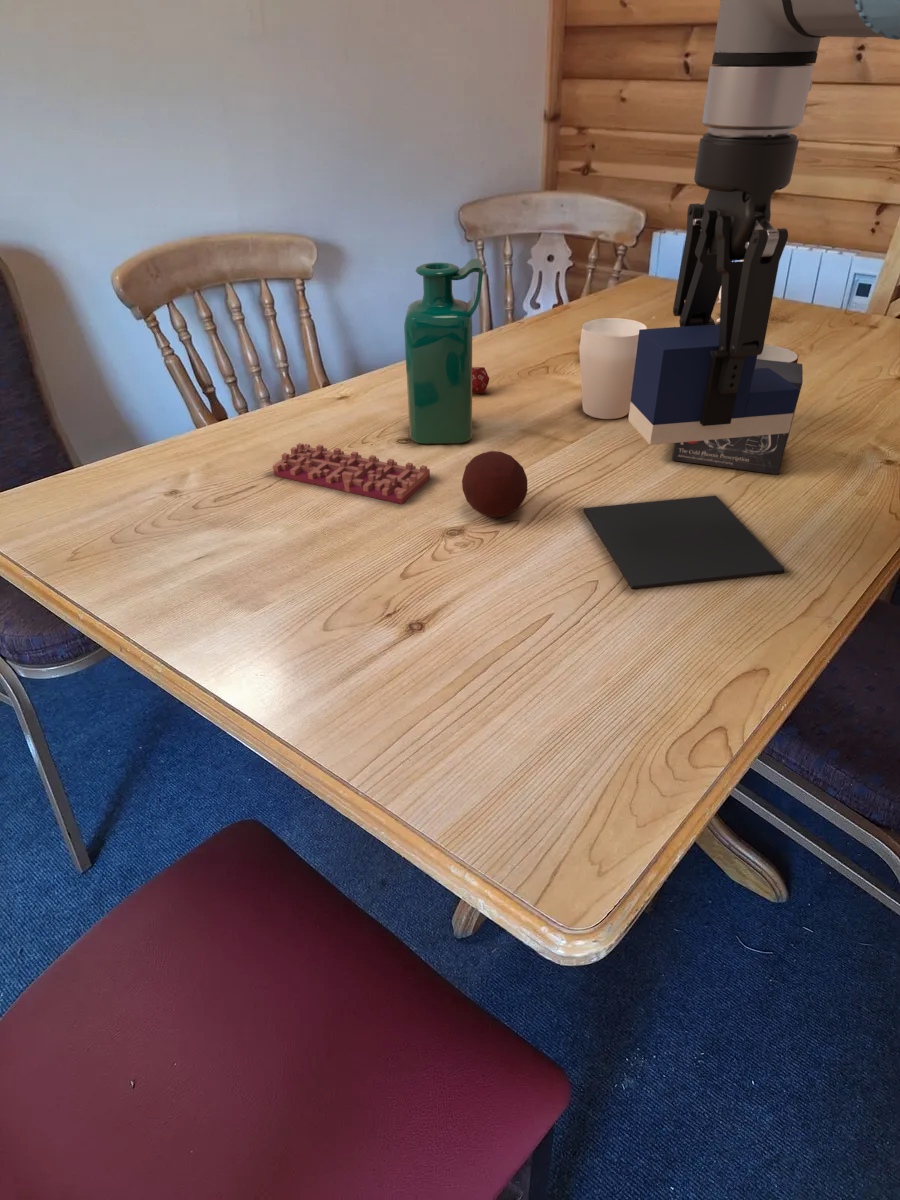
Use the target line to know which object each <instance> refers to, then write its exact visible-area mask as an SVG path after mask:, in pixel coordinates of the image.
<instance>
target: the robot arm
mask: <svg viewBox="0 0 900 1200" xmlns="http://www.w3.org/2000/svg"><path fill="white" fill-rule="evenodd" d="M719 2H720V3H719V9H718V15H717V24H716V31H715V35H714V36H715V37H714V44H713V50H712V51H713V55H712V60H711V65H709V71H708V79H707V85H706V92H705V98H704V106H703V112H702V120H701V123H702V125H703V126H704V127H707V128H708V129H707V133H704V134H703V135H702V137H701V138H699V144H698V149H697V151H698V152H697V157H696V164H695V170H694V177H693V179H694V183H695V185H696V186H698V187H699V188H701V189H703V190H708V192H707V194H706V198H705V200H704V202H703V203H701V202H699V203H689V205H688V206H687V211H686V212H687V213H686V234H685V240H684V245H683V250H682V256H681V262H680V268H679V273H678V279H677V285H676V290H675V296H674V302H673V307H672V314H673V316H674V317H679V327H685V326H699V325H714V324H716V323H717V322H715V320H714V319H713V317H712V315H713V311H714V308H715V305H716V303H717V301H718V298H719V291H720V288H721V304H720V308H719V309H720V310H719V318H720V323H719V324H720V330H719V350H718V351H711V357H712V358H711V364H710V369H709V375H708V380H707V386H706V391H705V397H704V402H703V407H702V413H701V418H700V424H701V425H702V426H710V425H722V424H731V419H732V414H733V409H734V405H735V400H736V395H737V390H738V387H739V381H740V377H741V372H742V368H743V363H744V360H745V358H746V357H747V356H752V355H760V354H761V353H762V351H763V347H764V345H765V341H766V336H767V331H768V325H769V319H770V314H771V308H772V303H773V298H774V292H775V288H776V281H777V276H778V270H779V266H780V265H779V264H780V261H781V258H782V255H783V253H784V250H785V248H786V244H787V242H788V239H789V231H788V229H787V228H786V227H784V228H774V226H773V225H772V223H770V222H771V216H772V214H771V203H772V196H773V194H774V193H775V192H776V191H780V190H783V189H785V188H786V187H787V186H789V184H790V183H791V180H792V175H793V170H794V166H795V162H796V156H797V152H798V148H799V147H798V146H799V144H800V140H799V139H798V136H797V134H794V133H792V131H793V129H795V128H797V127H800V125H802V124H803V121H804V116H805V110H806V106H807V101H808V96H809V93H810V91H812V88H813V81H812V77H813V71H814V66H815V65H814V64H816V63H817V59H818V58H817V57H818V52H819V47H820V43H821V39H825V38H827V37H833V38H834V37H836V38H885V39H888V40H894V41H899V40H900V0H720V1H719ZM740 260H744V261H740Z"/></svg>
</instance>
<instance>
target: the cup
mask: <svg viewBox="0 0 900 1200" xmlns="http://www.w3.org/2000/svg"><path fill="white" fill-rule="evenodd" d="M641 329H648V328H647V325H646V324H645V323H643V322H640V321H638V320H634V319H628V318H623V317H622V318H621V317H620V318H619V317H602V318H595V319H590V320H587V321H585V322H584V323H583V324H582V327H581V333H580V341H579V348H578V353H579V371H580V386H581V387H580V388H581V403H582V412H584V413H585V414H586V415H587V416H589V417H592V418H594V419H599V420H600V419H601V420H615V419H620V418H623V417H625V416H627V415H629V410H630V402H631V393H632V385H633V377H634V369H635V361H636V353H637V345H638V337H639V330H641Z"/></svg>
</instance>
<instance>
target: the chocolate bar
mask: <svg viewBox="0 0 900 1200" xmlns="http://www.w3.org/2000/svg"><path fill="white" fill-rule="evenodd" d="M280 456H281V460H279V461H278V462H277V463H275V464H273V465H272V469H273V476H275V477H280V478H283V479H284V478H285V479H289V480H293V481H297V482H301V483H307V484H310V485H314V486H315V485H316V486H320V487H324V488H328V489H333V490H338V491H342V492H347V493H352V494H355V495H360V496H365V497H368V498H373V499H377V500H378V499H379V500H382V501H387V502H390V503H396V504H400V505H402V504H404V503H405V502H406V501H407V500H408V499H410V498H411V497H412V496H413V495H414V494H415V493H416V492H417V491H418V490H419V489H420V488H421V487H423V485H425V484H426V483H427V482H428V481H429V480H431V470H430V468H428V466H427V465H423V464H422V465H421V466H419V468H417V467H416V465H414V463H413V462H407V463H406V464H405V465H399V464H398V461H395V458H394V459H393V458H389V459H387V460H386V462H385V461H380V458H378V457H377V456H376V455H375V454H374V455H373V454H371V455H369V456H368V458H365V457H362V454H359V452H358V451H352V452H351V453H350V454H345V451H344V450H343V451H342V449H341V448H338V447H336V448H334V449H333V451H331V450H328V448H327V447H324V444H318V445H316V446H315V447H311V444H309V443H305V444H304V443H301V442H299V443H297V444H296V446H293V447H291V448H290V454H289V453H287V452H284V453H282V454H281V455H280Z"/></svg>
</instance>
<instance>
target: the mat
mask: <svg viewBox="0 0 900 1200" xmlns="http://www.w3.org/2000/svg"><path fill="white" fill-rule="evenodd" d="M582 510H583V513H584V514H585V516H586V517H587V519H588V521H589V522H590V524H591V525H592V528H593V529H594V530H595V532H596V533H597V536H598V537H599V539H600V541H601V542H602V543H603V546H604V547H605V548H606V550H607V552H608V553H609V556H611V558H612V560H613V561H614V563H615V564H616V567H618V569H619V571H620V572H621V574H622V575H623V578H624V579H625V581H626V582H627V584H628V585H629V587H630V588H631V590H639V589H647V588H655V587H665V586H673V585H674V586H675V585H683V584H692V583H700V582H701V583H702V582H709V581H710V582H711V581H718V580H728V579H737V578H738V579H739V578H748V577H756V576H766V575H774V574H783V573H784V574H785V571H786V569H785V567H784V566H783V565H781V563H780V562H779V561H778V560H777V559H776V558H775V557H774V556H773V555H772V554H771V552H769V550H768V549H767V548H766V547H765V546H764V545H763V544H762V543H761V542H760V541H759V539H757V537H756V536H754V534H753V533H751V531H750V530H749V529H748V528H747V527H746V526H745V525H744V524H743V523H742V522H741V521H740V519H739V518H738V517H737V516H736V515H735V514H734V513H733V512H732V511H731V510H730V509H729V508H728V507H727V505H726V504H725V503H724V502H723V501H722V500H721V499H720V498H719V497H718V496H717V495H706V496H695V497H688V498H687V497H686V498H676V499H666V500H655V501H653V500H652V501H645V502H644V501H643V502H634V503H624V504H612V505H601V506H593V507H592V506H590V507H583V509H582Z"/></svg>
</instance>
